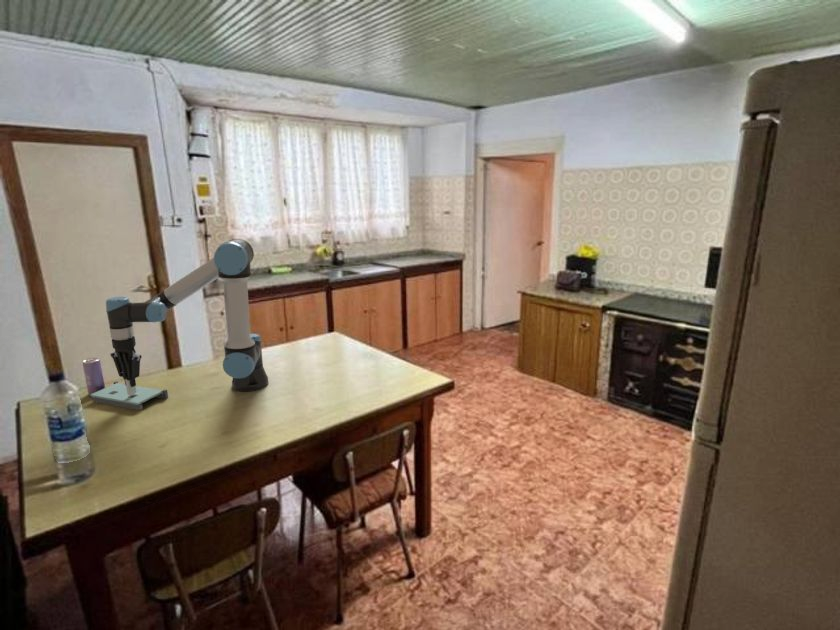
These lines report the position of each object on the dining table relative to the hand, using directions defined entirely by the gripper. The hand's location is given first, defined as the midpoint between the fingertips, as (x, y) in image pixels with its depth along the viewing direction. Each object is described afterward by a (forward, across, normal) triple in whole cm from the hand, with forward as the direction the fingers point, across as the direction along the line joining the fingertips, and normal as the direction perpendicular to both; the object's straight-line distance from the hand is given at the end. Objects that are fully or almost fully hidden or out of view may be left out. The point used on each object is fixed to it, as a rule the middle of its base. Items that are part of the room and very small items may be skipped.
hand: (132, 393), depth 181 cm
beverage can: (+5, +22, -3) cm, 23 cm away
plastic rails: (+5, +5, -3) cm, 7 cm away
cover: (+2, +5, -2) cm, 6 cm away
